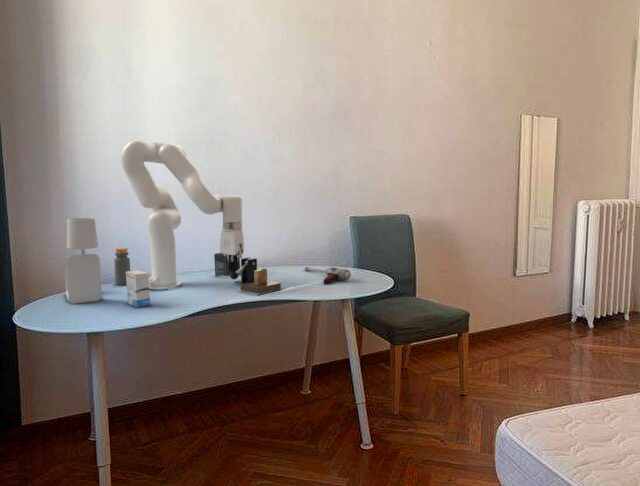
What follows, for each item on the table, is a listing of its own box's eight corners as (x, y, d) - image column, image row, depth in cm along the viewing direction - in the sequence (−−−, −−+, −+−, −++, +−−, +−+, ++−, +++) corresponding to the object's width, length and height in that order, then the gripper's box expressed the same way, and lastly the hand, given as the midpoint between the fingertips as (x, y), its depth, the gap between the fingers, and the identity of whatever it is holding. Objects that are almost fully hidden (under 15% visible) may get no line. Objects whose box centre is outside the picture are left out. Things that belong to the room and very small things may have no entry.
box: (229, 272, 246) (228, 250, 245) (240, 273, 243) (240, 251, 242) (214, 276, 236) (213, 253, 235) (225, 277, 234) (225, 254, 232)
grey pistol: (287, 280, 246) (310, 272, 254) (331, 288, 218) (355, 279, 226) (285, 270, 245) (308, 262, 253) (328, 277, 218) (353, 268, 225)
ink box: (150, 305, 185) (149, 272, 184) (136, 308, 181) (135, 274, 180) (140, 301, 191) (139, 269, 190) (126, 303, 187) (125, 271, 186)
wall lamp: (96, 291, 207) (92, 214, 203) (103, 302, 189) (99, 219, 185) (65, 294, 201) (61, 215, 198) (70, 306, 183) (65, 220, 180)
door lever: (235, 281, 214) (232, 275, 212) (230, 280, 216) (227, 274, 214) (255, 264, 221) (252, 258, 220) (250, 263, 223) (247, 257, 222)
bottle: (115, 283, 222) (114, 247, 220) (130, 282, 224) (129, 247, 222) (115, 285, 216) (113, 249, 215) (130, 284, 218) (128, 249, 217)
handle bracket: (247, 287, 215) (246, 260, 214) (234, 284, 220) (234, 258, 219) (263, 283, 222) (263, 258, 221) (251, 280, 227) (250, 256, 226)
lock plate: (257, 295, 200) (257, 287, 200) (240, 291, 207) (240, 284, 206) (280, 290, 210) (280, 282, 209) (263, 286, 216) (263, 279, 215)
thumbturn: (257, 284, 205) (257, 270, 205) (254, 284, 206) (254, 269, 206) (267, 282, 209) (267, 268, 208) (263, 282, 210) (263, 268, 210)
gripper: (213, 225, 214) (213, 269, 216) (236, 228, 205) (237, 274, 207) (228, 224, 220) (228, 267, 222) (251, 227, 211) (251, 272, 213)
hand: (232, 270), depth 214 cm, fingers closed
